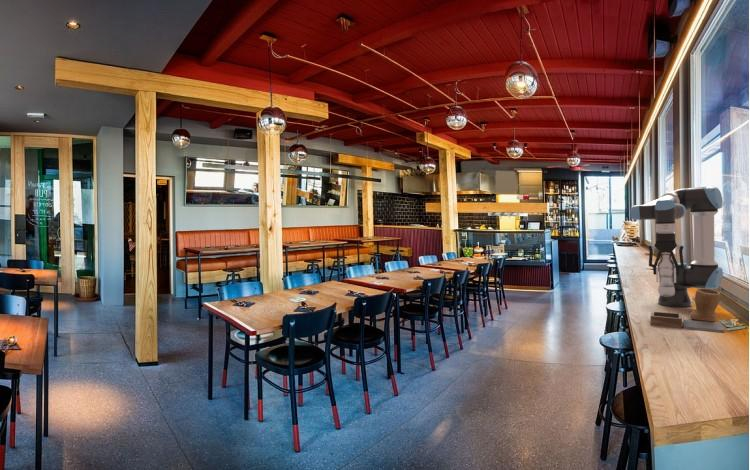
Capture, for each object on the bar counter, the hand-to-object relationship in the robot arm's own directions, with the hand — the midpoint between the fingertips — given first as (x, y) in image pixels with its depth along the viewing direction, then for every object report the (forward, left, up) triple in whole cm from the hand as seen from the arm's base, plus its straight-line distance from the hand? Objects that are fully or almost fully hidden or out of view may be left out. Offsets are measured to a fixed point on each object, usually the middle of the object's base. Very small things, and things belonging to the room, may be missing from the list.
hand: (666, 281), depth 196 cm
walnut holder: (0, 0, -20) cm, 20 cm away
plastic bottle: (0, 0, -7) cm, 7 cm away
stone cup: (-16, +15, -20) cm, 29 cm away
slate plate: (0, +13, -20) cm, 24 cm away
